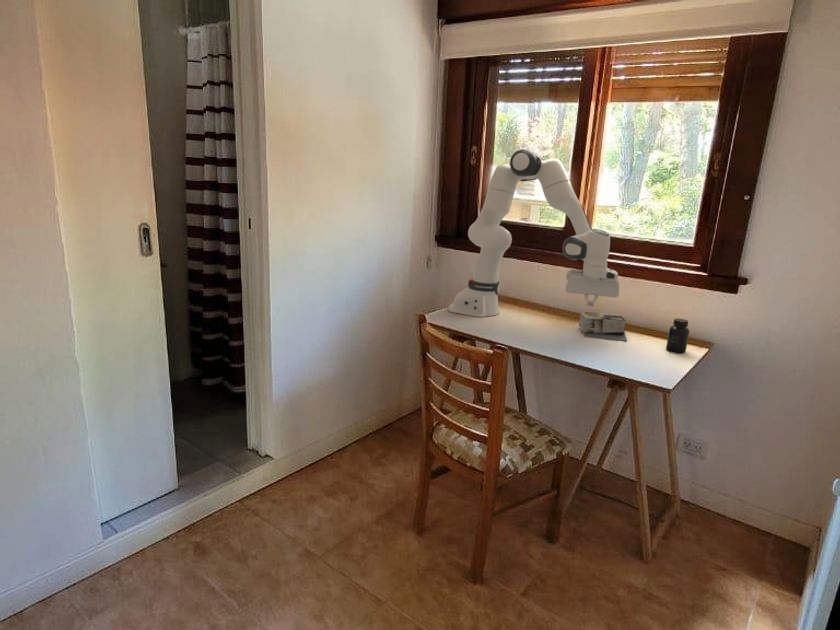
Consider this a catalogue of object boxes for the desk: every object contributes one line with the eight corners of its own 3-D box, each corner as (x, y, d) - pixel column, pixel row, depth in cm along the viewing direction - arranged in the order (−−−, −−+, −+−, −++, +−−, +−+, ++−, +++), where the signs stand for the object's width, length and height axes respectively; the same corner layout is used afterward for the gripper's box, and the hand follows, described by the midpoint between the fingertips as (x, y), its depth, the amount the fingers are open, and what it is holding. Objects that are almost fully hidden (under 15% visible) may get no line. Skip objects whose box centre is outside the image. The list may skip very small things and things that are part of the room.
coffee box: (582, 333, 219) (624, 335, 217) (584, 317, 217) (626, 320, 216) (578, 326, 227) (618, 329, 226) (580, 311, 226) (620, 314, 224)
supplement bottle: (689, 353, 202) (695, 323, 199) (672, 354, 201) (678, 323, 198) (678, 347, 209) (684, 317, 205) (661, 347, 208) (667, 317, 204)
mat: (583, 336, 216) (584, 335, 216) (583, 327, 228) (583, 325, 228) (626, 341, 212) (626, 340, 212) (624, 331, 224) (624, 330, 224)
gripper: (567, 270, 214) (562, 304, 218) (622, 275, 209) (616, 310, 213) (567, 267, 220) (563, 300, 224) (620, 272, 215) (615, 306, 219)
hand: (589, 305), depth 219 cm, fingers closed
